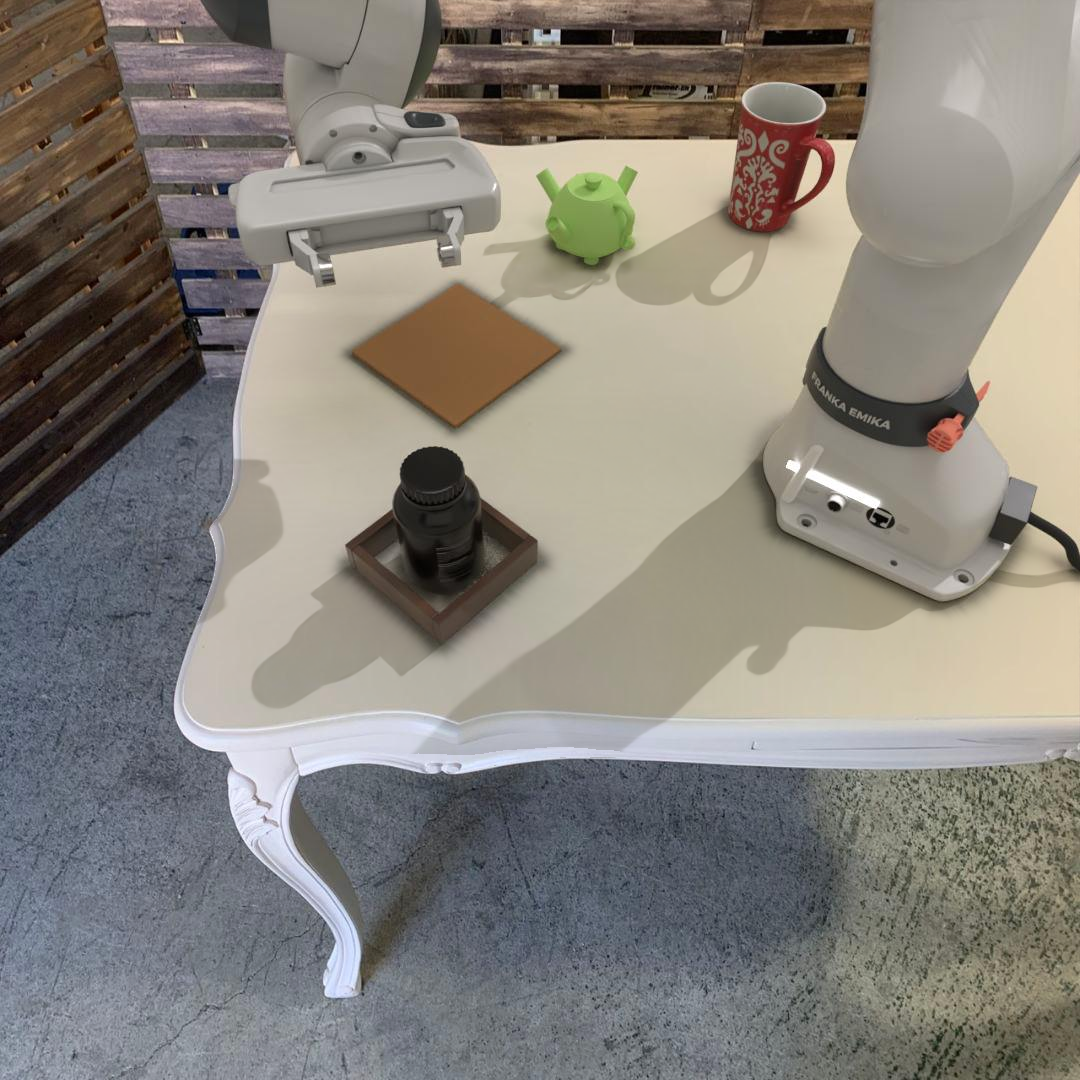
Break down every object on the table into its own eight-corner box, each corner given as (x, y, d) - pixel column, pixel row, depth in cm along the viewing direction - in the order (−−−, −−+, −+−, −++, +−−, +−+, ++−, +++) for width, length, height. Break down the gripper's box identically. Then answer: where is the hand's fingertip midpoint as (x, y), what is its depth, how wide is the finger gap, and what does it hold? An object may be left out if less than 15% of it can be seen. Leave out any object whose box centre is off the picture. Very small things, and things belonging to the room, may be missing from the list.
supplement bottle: (490, 535, 77) (485, 439, 68) (479, 601, 73) (472, 509, 64) (411, 527, 78) (395, 431, 68) (396, 593, 74) (377, 501, 64)
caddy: (537, 561, 76) (538, 540, 73) (442, 645, 71) (439, 625, 68) (446, 491, 80) (444, 469, 78) (350, 565, 75) (344, 544, 73)
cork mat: (561, 351, 91) (561, 348, 91) (455, 428, 85) (455, 425, 84) (458, 286, 97) (458, 283, 97) (351, 354, 91) (351, 351, 90)
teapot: (644, 274, 99) (653, 205, 92) (540, 277, 99) (542, 208, 92) (631, 215, 106) (639, 147, 99) (534, 217, 105) (535, 148, 98)
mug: (703, 206, 107) (724, 94, 96) (760, 184, 110) (787, 73, 99) (774, 262, 101) (805, 149, 90) (833, 237, 104) (869, 124, 93)
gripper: (215, 143, 69) (234, 254, 61) (473, 111, 73) (521, 212, 66) (234, 215, 74) (254, 325, 67) (475, 181, 78) (519, 282, 71)
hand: (389, 269), depth 66 cm, fingers open, 8 cm apart
